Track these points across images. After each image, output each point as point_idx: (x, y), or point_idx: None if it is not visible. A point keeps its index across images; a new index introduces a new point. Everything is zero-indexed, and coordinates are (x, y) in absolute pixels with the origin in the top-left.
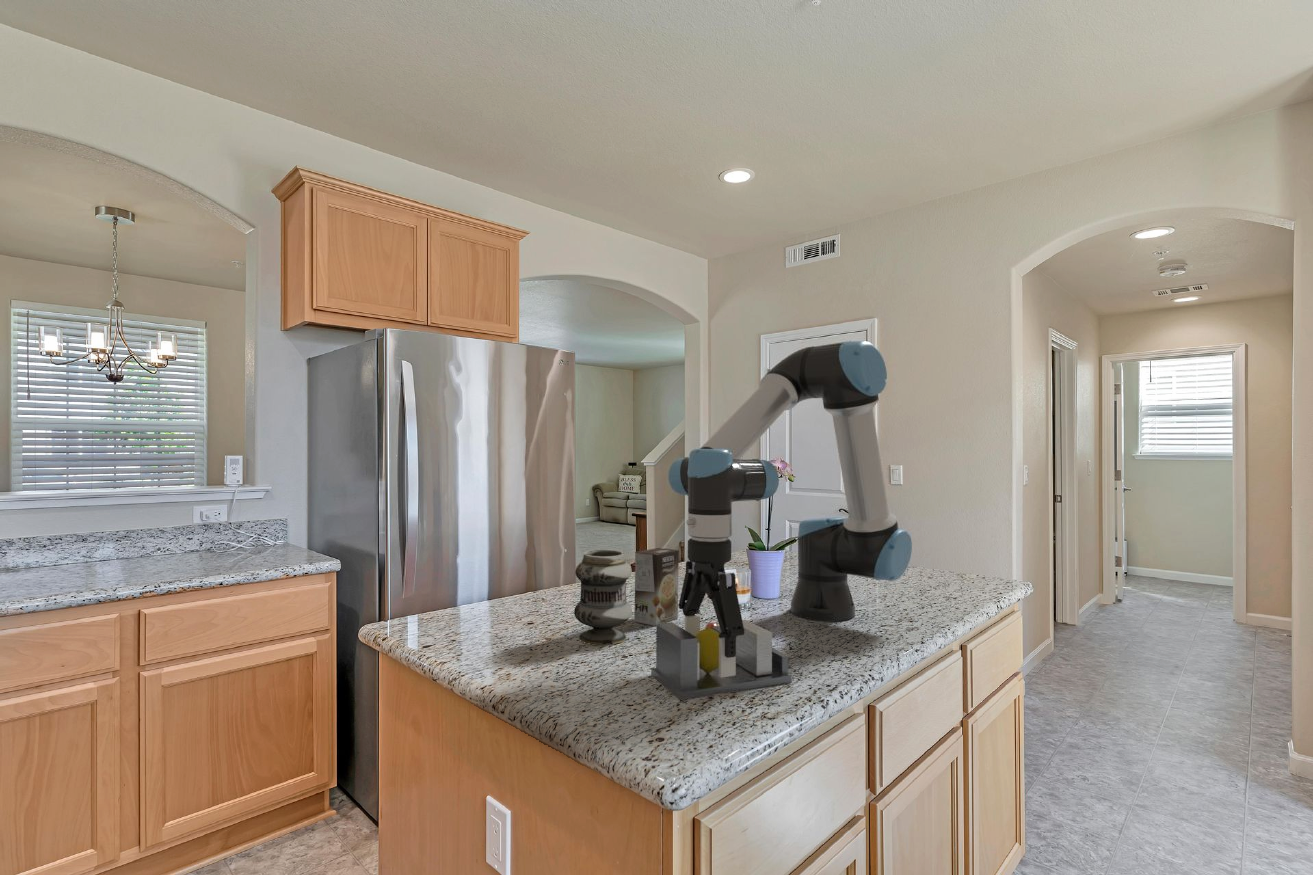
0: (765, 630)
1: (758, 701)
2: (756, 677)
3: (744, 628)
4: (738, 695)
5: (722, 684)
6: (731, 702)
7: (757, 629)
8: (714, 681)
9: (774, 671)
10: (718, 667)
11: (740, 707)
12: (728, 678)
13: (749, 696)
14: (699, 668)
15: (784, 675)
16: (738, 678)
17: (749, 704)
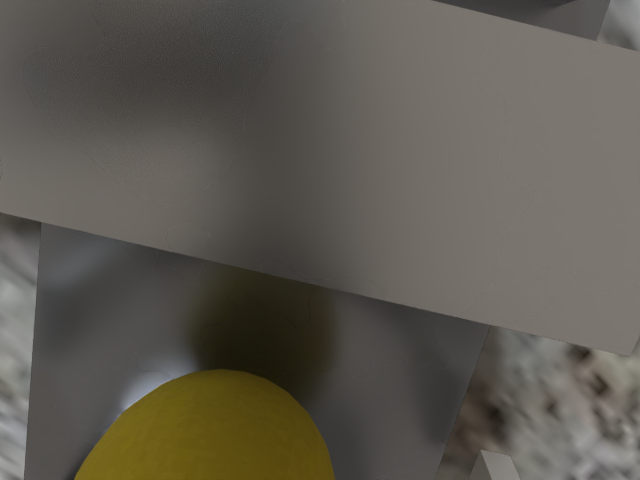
0: (588, 80)
1: (632, 365)
2: None
3: (266, 268)
4: (504, 389)
5: (423, 447)
6: (542, 469)
7: (451, 153)
8: (359, 448)
9: (481, 11)
10: (184, 284)
11: (612, 475)
12: (373, 362)
13: (554, 355)
14: (140, 385)
15: (588, 11)
16: (412, 318)
17: (622, 423)
